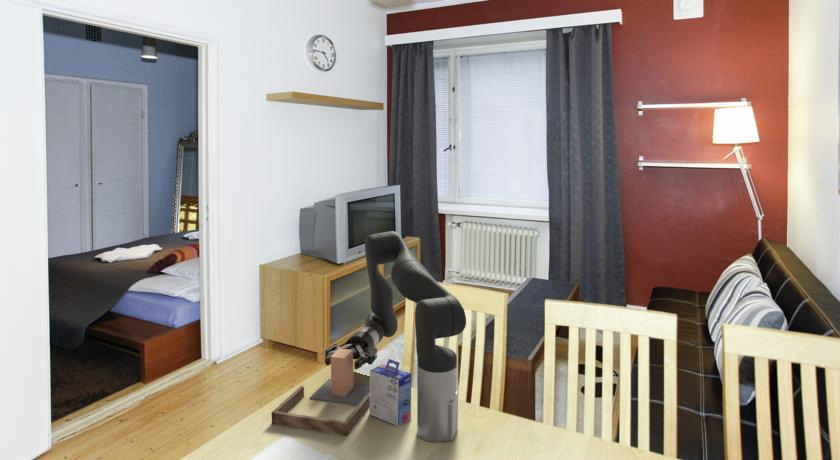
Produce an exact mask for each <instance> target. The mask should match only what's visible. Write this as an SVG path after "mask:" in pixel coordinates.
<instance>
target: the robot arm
mask: <svg viewBox="0 0 840 460" xmlns="http://www.w3.org/2000/svg"><path fill="white" fill-rule="evenodd" d="M364 253H365V260H366V262H365V263H366V268H367V275H368V281H369V286H370V310H371V312H370V313H369V314H368V315H367V317H366V320H365V324H364V325H363V326H362V327H361V328H360V329H358V330H357V331H355V332H354V333H353V334H352V335H351V336H350V337H349V338H348V339H347V341H346V343H345V344H344V345H342V346H338V344H337V343H333V344H332V345H330V346H329V347H328V348H326V349H325V350H324V364H325V366H331V356H332V355H333V354H334V353H335V352H336V351H337V350H338V349H339V348H340V349H349V350H353V360H355V361H354V362H353V367H354V370H359V369H360V368H362V367H363V365H366V364H367V365H373V364H374V363H375V361H376V360H377V358H378V348H376V347H378V346H377V345H378V344H379V343H380V342H381V341H382V340H383V338H392V337H393V336H395V334H397V331H398V325H399V324H398V318H397V316H396V315H397V314H396V312H395V309H394V306H393V305H394V291H393V288H392V286H391V284H390V282H389V281H388V280H387V278H385V277H384V276H383V274H382V273H381V272H380V270H379V265H385V264H390V263H393V265H392V268H391V272H390V279H391V282H392V284H393V285H394V286H395V288H396V289H397V291H398V292H399V293H400V294H401V296H403V297H404V298H406V299H407V300H409V301H411V302H414V303H415V304H416V306H415V310H414V324H415V325H414V326H415V342H416V343H415V346H416V347H415V348H416V357H417V372H416V373H417V382H416V383H417V387H416V388H417V393H416V394H417V395H416V396H417V398H416V399H417V401H416V404H417V406H416V407H417V408H416V409H417V410H416V411H417V413H416V414H417V419H416V421H417V422H416V427H417V435H418V436H419V437H420V438H421V439H422V440H425V441H428V442H432V443H440V442H442V443H443V442H446V441H447V442H449V441H450V442H453V441H454V439H455V436H456V433H457V431H458V424H459V392H458V391H457V367H458V366H457V363H458V361H457V360H458V358H457V353H456V352H455V351H454V350H453V349H451V348H449V347H446V346H444V345H443V346H442V345H438V344H436V340H437V339H444V338H450V337H455V336H458V335H460V334H461V333H463V332H464V330H465V329H466V325H467V317H466V312H465V309H464V307H463V305H462V303H461V302H460V300H458V298H457V297H456V296H454V295H453V294H452V293H451V292H449V291H448V290H447V289H446V288H445V287H444V286H442V285H441V284H440V283H439V282H438V281H437V280H436V279H435V278H434V276H432V274H430V272H429V271H428V269H427V268H426V267H425V266H424V265H423V264H422V263H421V262H420V261H419V259H417V257H416V256H415V255H414V253H412V251H411V249H409V247H408V245H407V244H406V241H405V240H404V239H403V238H402V236H401V235H400V234H399V233H398V232H397V231H392V230H391V231H384V232H379V233H372V234H370V235H367V236H366V238H365V241H364Z"/></svg>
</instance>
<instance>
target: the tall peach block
mask: <svg viewBox="0 0 840 460" xmlns="http://www.w3.org/2000/svg"><path fill="white" fill-rule="evenodd" d="M330 379H331V390H332V395H337V396H344V397H345V396H346V395H347V394H348V393H349V392H350V391H351V389H352V388H353V387H354V383H353V382H354V359H353V350H349V349H340V348H339V349H338V350H337V351H336V352H335V353H334V354H333V355H332V356H331V364H330Z"/></svg>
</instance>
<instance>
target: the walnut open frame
mask: <svg viewBox="0 0 840 460" xmlns="http://www.w3.org/2000/svg"><path fill="white" fill-rule="evenodd" d="M304 398H305V386H303V385H300V386H299V387H298V388H296V389H295V391H293V392H292V393H291V394H290V395H289V396H288V397H287V398H286V399H285V400H283V401H282V403H280V404H279V405H278V406H276V408H275V409H273V410H272V411H271V413H270V414H271V424H272V425H277V426H282V427H283V426H284V427H289V428H290V427H291V428H295V429H296V428H297V429H303V430H308V431H315V432H320V433H327V434H332V435H340V436H345V437H347V436H348V435H349V434H350V433H351V431H352V430H353V429H354V428H355V426H356V425H357V424H358V422H359V421H360V420H361V418H362V417H363V416H364V415H365V414H366V412H367V411H368V409H370V395H368V394H367V395H366V396H365V397H364V398H363V399H362V401H361V402H360V403H359V404H358V406H357V405H356V407H355V408H354V409H353V411H352V412H351V413H350V414H349V415H348V417H347V418H346V419H345V420H344V421H342V420H338V419H337V420H336V419H330V418H325V417H324V418H323V417H317V416H311V415H304V414H298V413H293V412H291V413H290V411H291V410H292V409H293V408H295V406H296V405H298V404H299V402H301V400H302V399H304Z"/></svg>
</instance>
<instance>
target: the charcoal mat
mask: <svg viewBox="0 0 840 460" xmlns="http://www.w3.org/2000/svg"><path fill="white" fill-rule="evenodd" d="M353 383H354V387H353V388H352V389H351V391H350V392H349V393H348V394H347V395H346V396H345V397H344V396H337V395H332V390H331V378H328V379H327V380H326V381H325V382H324V383H323V384H322V385H321V386H320V387H319V388H318V389H317V390H316V391H315V392H314V393H312V395H311V396H310V397H309V399H311V400H317V401H323V402H324V401H325V402H329V403H330V402H331V403H338V404H344V405H352V406H356V407H357V406H358V404H359V403H360V402H361V401H362V399H363V398H364V397H365V396H366V395H368V394H370V383H366V382H357V381H353Z"/></svg>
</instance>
